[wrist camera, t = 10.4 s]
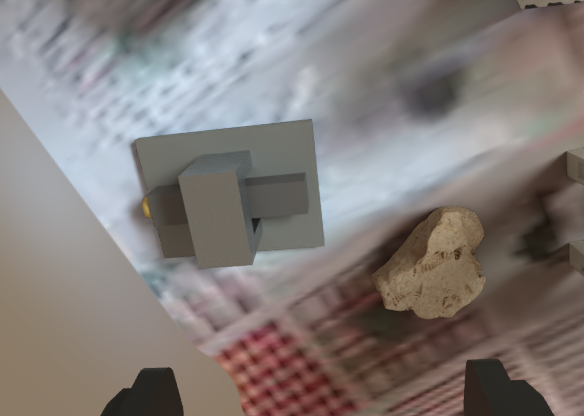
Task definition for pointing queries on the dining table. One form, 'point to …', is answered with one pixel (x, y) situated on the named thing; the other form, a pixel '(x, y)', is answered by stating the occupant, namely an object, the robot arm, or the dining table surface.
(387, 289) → the stone
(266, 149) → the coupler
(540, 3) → the candy box
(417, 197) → the dining table surface
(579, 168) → the stool
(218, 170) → the grey arch block
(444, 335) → the dining table surface
